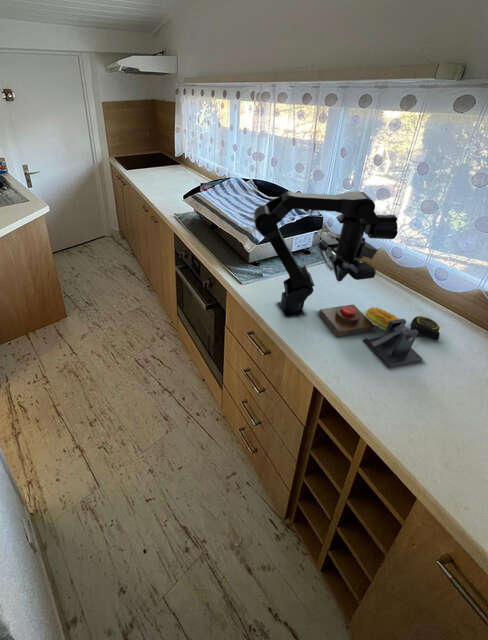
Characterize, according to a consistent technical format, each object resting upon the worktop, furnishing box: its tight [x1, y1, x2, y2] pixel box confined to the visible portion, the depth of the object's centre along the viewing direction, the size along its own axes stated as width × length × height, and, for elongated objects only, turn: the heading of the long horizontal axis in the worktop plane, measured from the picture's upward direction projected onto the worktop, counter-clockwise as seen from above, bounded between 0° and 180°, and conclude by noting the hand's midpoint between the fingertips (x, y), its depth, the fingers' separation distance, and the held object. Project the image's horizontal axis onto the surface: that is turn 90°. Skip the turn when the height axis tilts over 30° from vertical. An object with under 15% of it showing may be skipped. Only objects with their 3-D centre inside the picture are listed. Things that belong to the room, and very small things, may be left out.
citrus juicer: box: [319, 231, 337, 270], centre depth 135 cm, size 11×10×30 cm
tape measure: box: [409, 315, 441, 342], centre depth 92 cm, size 7×7×4 cm
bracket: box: [367, 318, 423, 368], centre depth 84 cm, size 10×9×10 cm
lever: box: [362, 323, 410, 357], centre depth 83 cm, size 11×5×2 cm, turn 99°
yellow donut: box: [364, 306, 400, 332], centre depth 92 cm, size 10×11×4 cm
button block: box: [318, 304, 375, 337], centre depth 96 cm, size 12×10×4 cm
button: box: [341, 305, 355, 318], centre depth 95 cm, size 4×4×2 cm
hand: (338, 280), depth 94 cm, fingers closed
